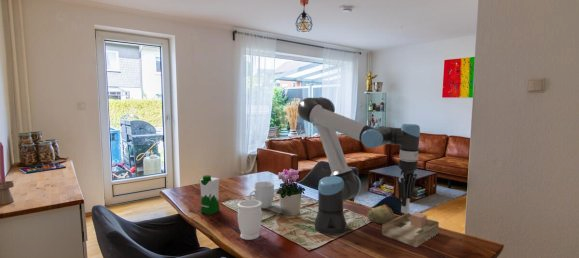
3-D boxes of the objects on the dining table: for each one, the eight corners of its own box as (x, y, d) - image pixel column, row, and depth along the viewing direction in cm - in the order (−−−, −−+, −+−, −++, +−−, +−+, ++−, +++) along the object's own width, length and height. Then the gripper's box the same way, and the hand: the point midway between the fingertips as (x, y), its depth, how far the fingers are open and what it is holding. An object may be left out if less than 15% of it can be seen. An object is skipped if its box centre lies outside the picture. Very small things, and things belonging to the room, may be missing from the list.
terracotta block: (410, 225, 141) (410, 214, 141) (415, 222, 145) (416, 212, 144) (420, 228, 138) (421, 217, 137) (426, 225, 141) (426, 215, 140)
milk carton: (198, 213, 163) (197, 176, 161) (209, 207, 171) (208, 172, 169) (211, 215, 159) (210, 178, 157) (222, 210, 167) (221, 174, 166)
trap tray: (381, 234, 137) (382, 222, 137) (405, 222, 150) (405, 212, 150) (416, 247, 125) (416, 234, 125) (438, 233, 138) (438, 221, 137)
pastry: (401, 222, 151) (402, 206, 150) (384, 228, 144) (384, 211, 143) (379, 213, 163) (379, 199, 162) (362, 218, 156) (362, 203, 155)
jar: (239, 242, 129) (238, 208, 128) (236, 232, 139) (236, 200, 138) (264, 239, 132) (263, 205, 131) (259, 229, 142) (259, 198, 141)
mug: (253, 212, 164) (253, 188, 163) (245, 206, 173) (244, 183, 172) (277, 207, 172) (277, 184, 170) (268, 202, 181) (268, 180, 180)
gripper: (408, 163, 125) (404, 218, 127) (424, 159, 133) (420, 211, 136) (392, 160, 130) (388, 213, 133) (407, 156, 139) (404, 206, 141)
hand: (404, 212), depth 134 cm, fingers closed
